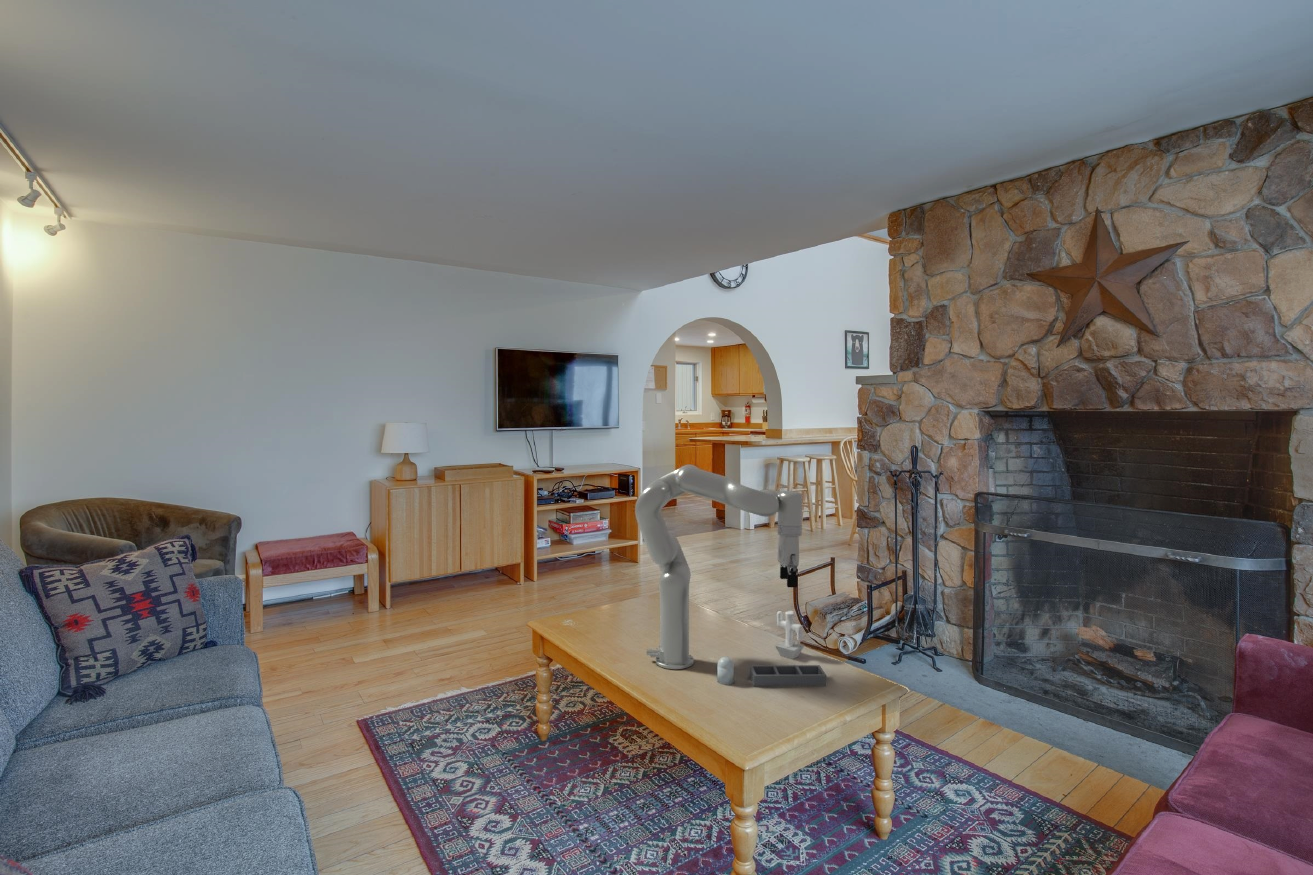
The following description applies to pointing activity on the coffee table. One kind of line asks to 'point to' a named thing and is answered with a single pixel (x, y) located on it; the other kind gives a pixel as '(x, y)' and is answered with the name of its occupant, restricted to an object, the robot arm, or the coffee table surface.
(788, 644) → the figurine
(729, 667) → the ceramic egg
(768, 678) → the grey compartment tray
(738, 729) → the coffee table surface
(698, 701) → the coffee table surface
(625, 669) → the coffee table surface
